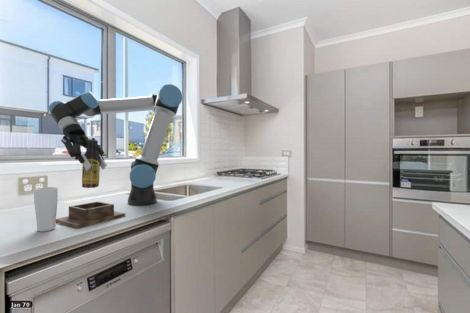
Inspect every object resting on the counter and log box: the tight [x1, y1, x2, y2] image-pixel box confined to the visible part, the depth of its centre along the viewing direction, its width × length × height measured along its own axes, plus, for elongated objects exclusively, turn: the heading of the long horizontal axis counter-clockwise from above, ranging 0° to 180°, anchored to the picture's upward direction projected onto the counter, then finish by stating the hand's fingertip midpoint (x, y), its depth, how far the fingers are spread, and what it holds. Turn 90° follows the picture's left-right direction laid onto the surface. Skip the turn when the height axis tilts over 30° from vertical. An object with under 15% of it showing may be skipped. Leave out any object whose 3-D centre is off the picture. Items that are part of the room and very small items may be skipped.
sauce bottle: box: [81, 139, 101, 189], centre depth 100 cm, size 7×6×20 cm
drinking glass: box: [33, 186, 59, 232], centre depth 87 cm, size 7×7×15 cm
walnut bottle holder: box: [56, 201, 126, 229], centre depth 101 cm, size 20×16×6 cm
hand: (97, 167), depth 99 cm, fingers closed on sauce bottle, 6 cm apart
